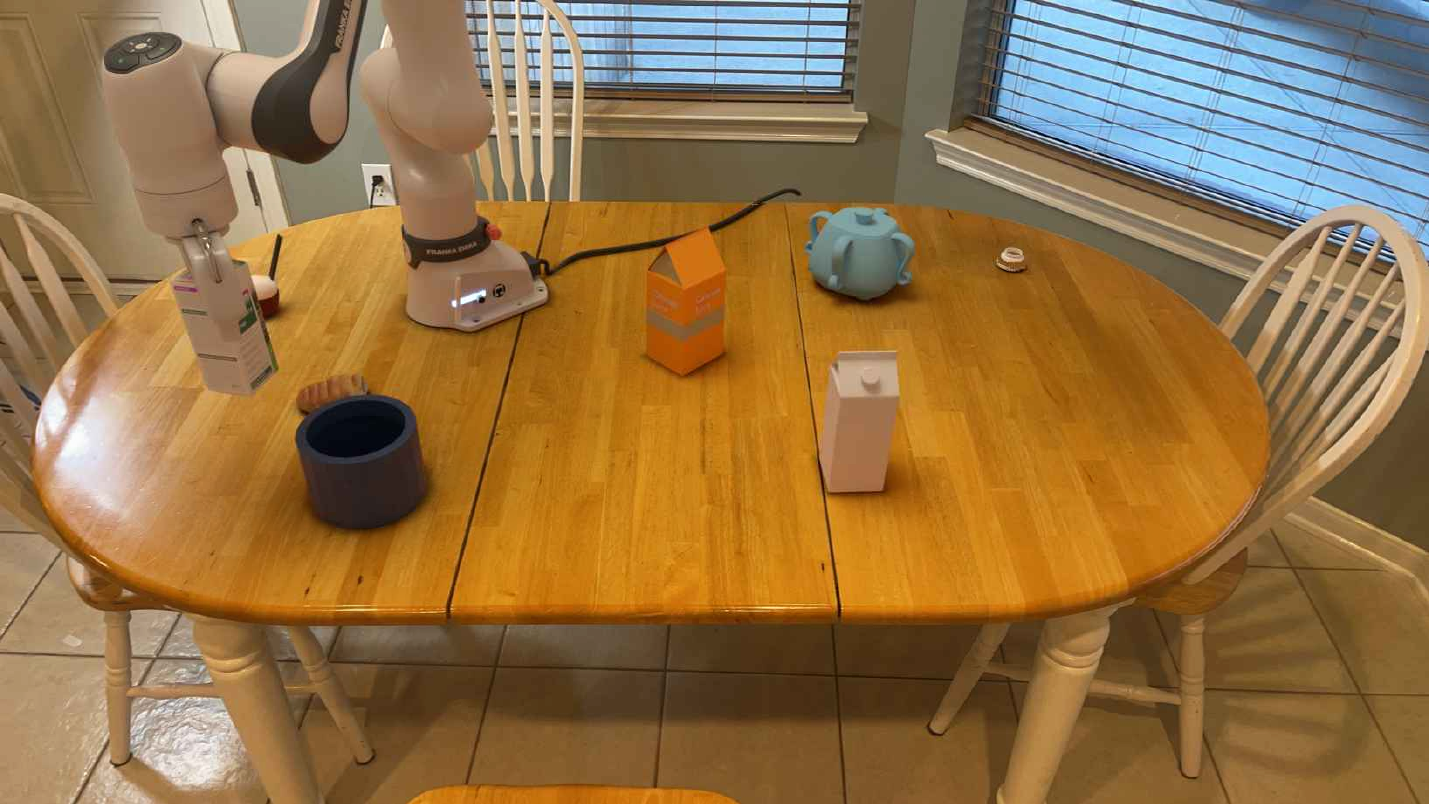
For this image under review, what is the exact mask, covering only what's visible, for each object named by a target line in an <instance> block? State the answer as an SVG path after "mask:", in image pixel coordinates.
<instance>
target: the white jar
mask: <svg viewBox="0 0 1429 804" xmlns="http://www.w3.org/2000/svg"><path fill="white" fill-rule="evenodd" d="M1007 252H1015V253H1017V254H1020V255H1012V254H1009V253H1007ZM1000 255H1001V258H1002V259H1003V260H1004V261H1006V262H1013V263H1014V262H1022V261H1023V260H1025V256H1024V254H1023V251H1022V250H1021V249H1020V248H1017V247H1007V248H1005V249H1004V251H1003V252H1002V253H1001V254H1000ZM996 262H998V258H997V259H996ZM996 262H995V263H996ZM996 265H997V266H998V267H999V268H1000V269H1003V270H1005V271H1007V272H1008V271H1009V272H1020V271H1019V270H1018V269H1016V270H1018V271H1016V270H1015V269H1014V270H1013V269H1010V267H1006V266H1004V265H1002V264H1000V263H996ZM1006 268H1007V269H1006ZM1008 268H1009V269H1008ZM1021 268H1023V267H1021ZM1025 268H1026V267H1024V269H1025Z"/></svg>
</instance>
